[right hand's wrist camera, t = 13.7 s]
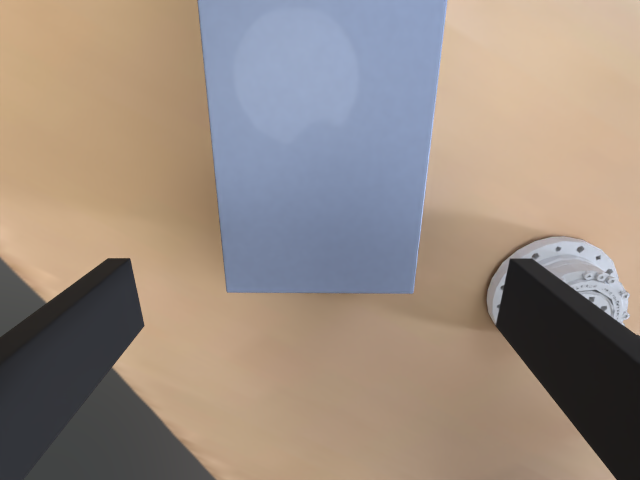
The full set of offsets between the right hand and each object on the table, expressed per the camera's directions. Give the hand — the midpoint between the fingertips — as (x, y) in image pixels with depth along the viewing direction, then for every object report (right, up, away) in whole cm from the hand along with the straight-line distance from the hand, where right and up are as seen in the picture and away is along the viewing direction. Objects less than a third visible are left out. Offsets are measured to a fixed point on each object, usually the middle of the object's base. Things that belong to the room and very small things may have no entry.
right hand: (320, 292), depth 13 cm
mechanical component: (+19, -2, +18) cm, 26 cm away
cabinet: (0, +11, +13) cm, 17 cm away
